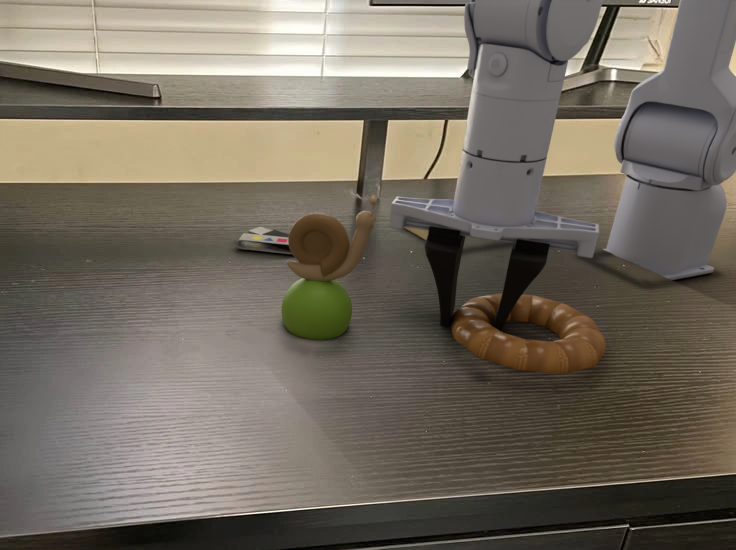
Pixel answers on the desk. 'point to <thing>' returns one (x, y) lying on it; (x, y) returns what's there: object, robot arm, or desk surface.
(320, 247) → the snail figurine
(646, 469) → the desk surface
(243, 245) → the grey game box
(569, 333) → the ring
